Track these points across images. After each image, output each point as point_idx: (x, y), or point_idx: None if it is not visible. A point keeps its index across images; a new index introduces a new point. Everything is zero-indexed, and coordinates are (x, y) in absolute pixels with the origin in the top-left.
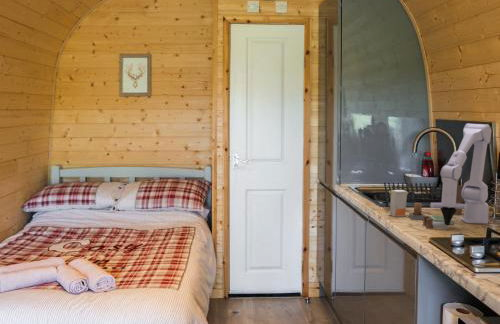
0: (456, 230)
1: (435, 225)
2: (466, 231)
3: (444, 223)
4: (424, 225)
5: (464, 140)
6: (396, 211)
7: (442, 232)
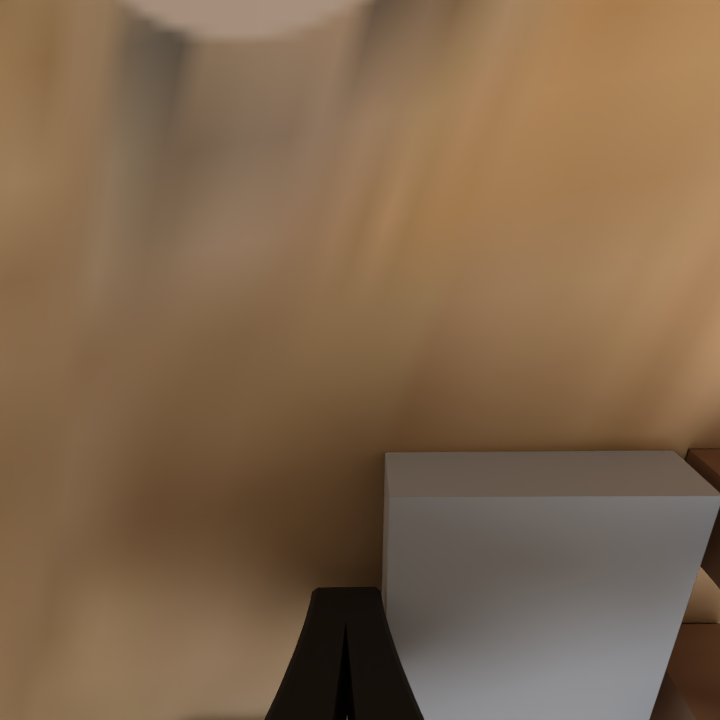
0: (216, 401)
1: (670, 494)
2: (11, 352)
3: None
4: (717, 626)
5: None
6: None
7: (614, 160)
